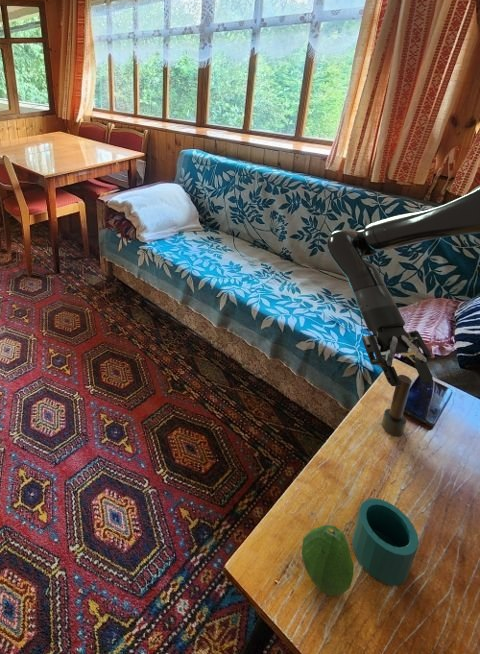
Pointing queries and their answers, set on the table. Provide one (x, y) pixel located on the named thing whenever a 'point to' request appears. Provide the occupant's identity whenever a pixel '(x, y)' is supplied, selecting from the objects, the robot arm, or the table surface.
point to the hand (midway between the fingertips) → (412, 383)
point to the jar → (384, 541)
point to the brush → (397, 408)
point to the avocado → (328, 560)
